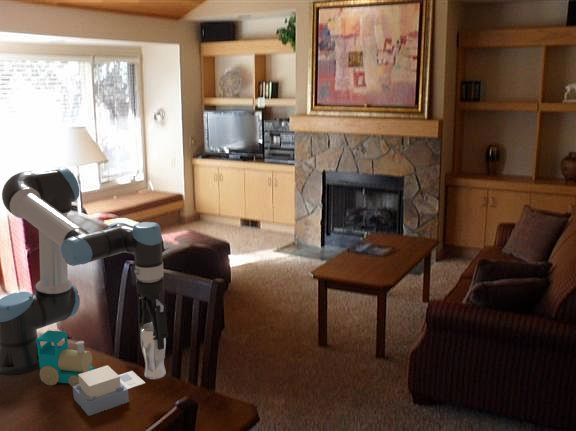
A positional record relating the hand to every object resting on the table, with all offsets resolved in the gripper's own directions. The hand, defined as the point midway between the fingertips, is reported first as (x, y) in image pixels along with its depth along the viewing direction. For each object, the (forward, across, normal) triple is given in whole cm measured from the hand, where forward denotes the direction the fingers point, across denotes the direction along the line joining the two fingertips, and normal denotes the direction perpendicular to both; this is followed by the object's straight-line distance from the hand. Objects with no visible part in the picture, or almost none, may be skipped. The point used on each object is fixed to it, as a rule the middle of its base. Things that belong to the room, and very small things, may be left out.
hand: (154, 353), depth 178 cm
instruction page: (+15, -16, -2) cm, 22 cm away
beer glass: (+7, 0, 0) cm, 7 cm away
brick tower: (+15, -10, -13) cm, 22 cm away
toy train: (+16, -28, -16) cm, 36 cm away
